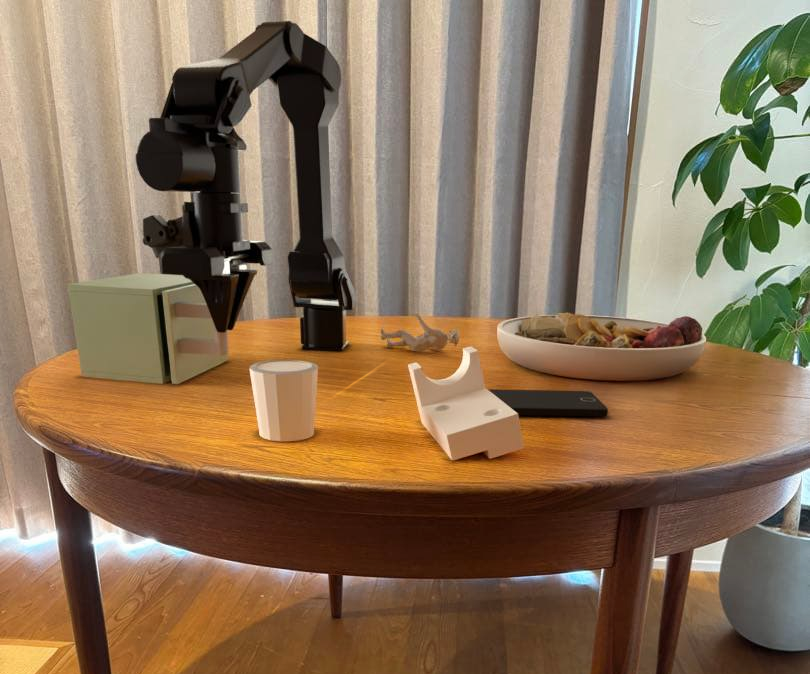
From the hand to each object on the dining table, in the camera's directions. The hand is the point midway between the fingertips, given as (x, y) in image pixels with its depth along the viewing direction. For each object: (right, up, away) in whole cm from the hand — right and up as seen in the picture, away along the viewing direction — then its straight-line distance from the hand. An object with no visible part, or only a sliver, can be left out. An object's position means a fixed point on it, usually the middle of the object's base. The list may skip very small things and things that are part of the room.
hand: (225, 331), depth 95 cm
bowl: (+51, +1, +21) cm, 55 cm away
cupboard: (-12, -2, +11) cm, 16 cm away
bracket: (+28, -16, -16) cm, 36 cm away
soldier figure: (+25, +4, +26) cm, 36 cm away
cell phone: (+36, -10, -4) cm, 38 cm away
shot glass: (+10, -15, -16) cm, 24 cm away
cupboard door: (-2, -3, +9) cm, 9 cm away
